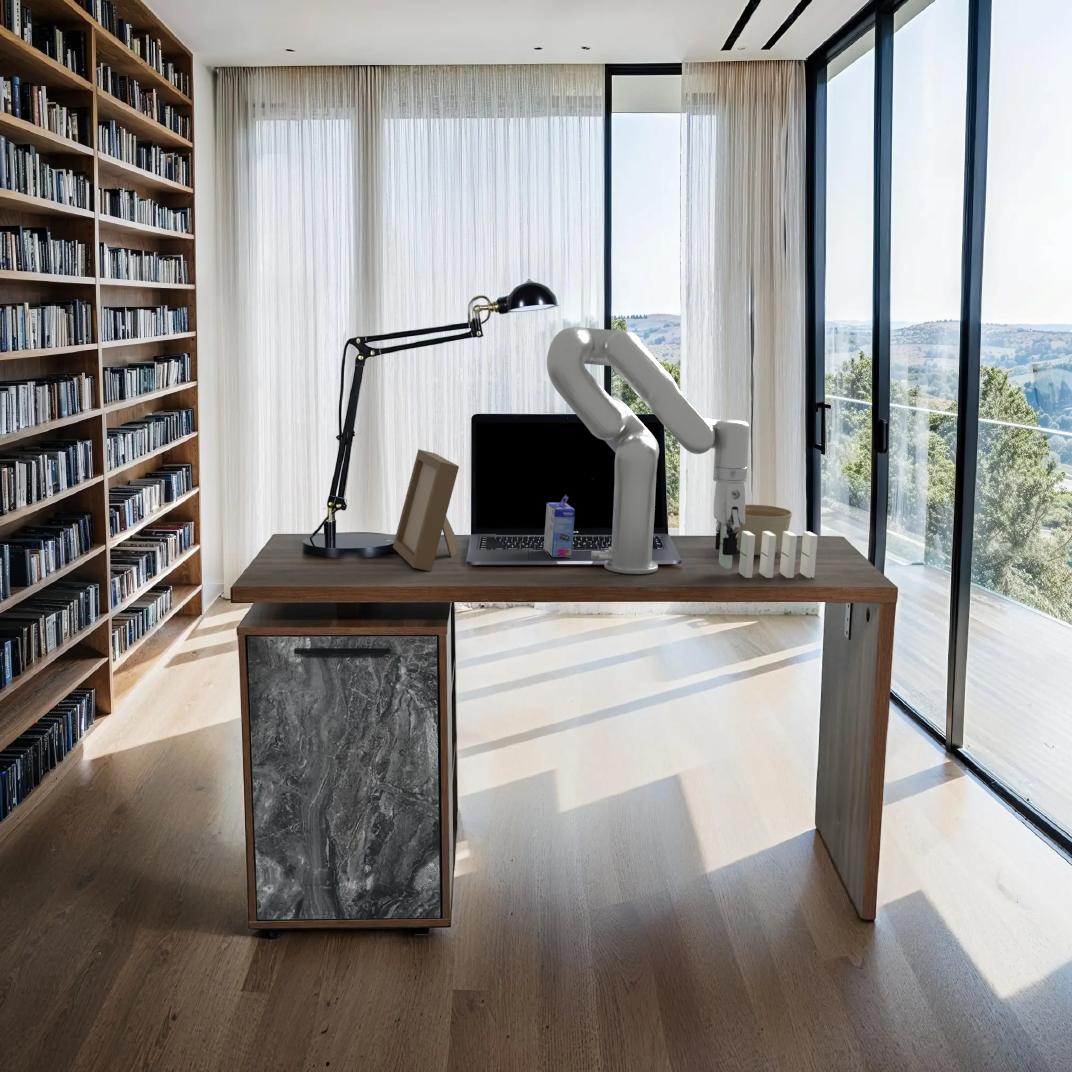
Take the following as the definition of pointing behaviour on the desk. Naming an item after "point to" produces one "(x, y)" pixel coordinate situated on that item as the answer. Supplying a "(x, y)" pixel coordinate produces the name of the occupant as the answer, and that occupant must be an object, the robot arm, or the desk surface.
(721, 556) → the domino
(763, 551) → the domino
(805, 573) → the domino
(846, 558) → the desk surface
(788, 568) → the domino
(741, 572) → the domino
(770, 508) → the planter bowl
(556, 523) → the ink cartridge box
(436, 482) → the photo frame
